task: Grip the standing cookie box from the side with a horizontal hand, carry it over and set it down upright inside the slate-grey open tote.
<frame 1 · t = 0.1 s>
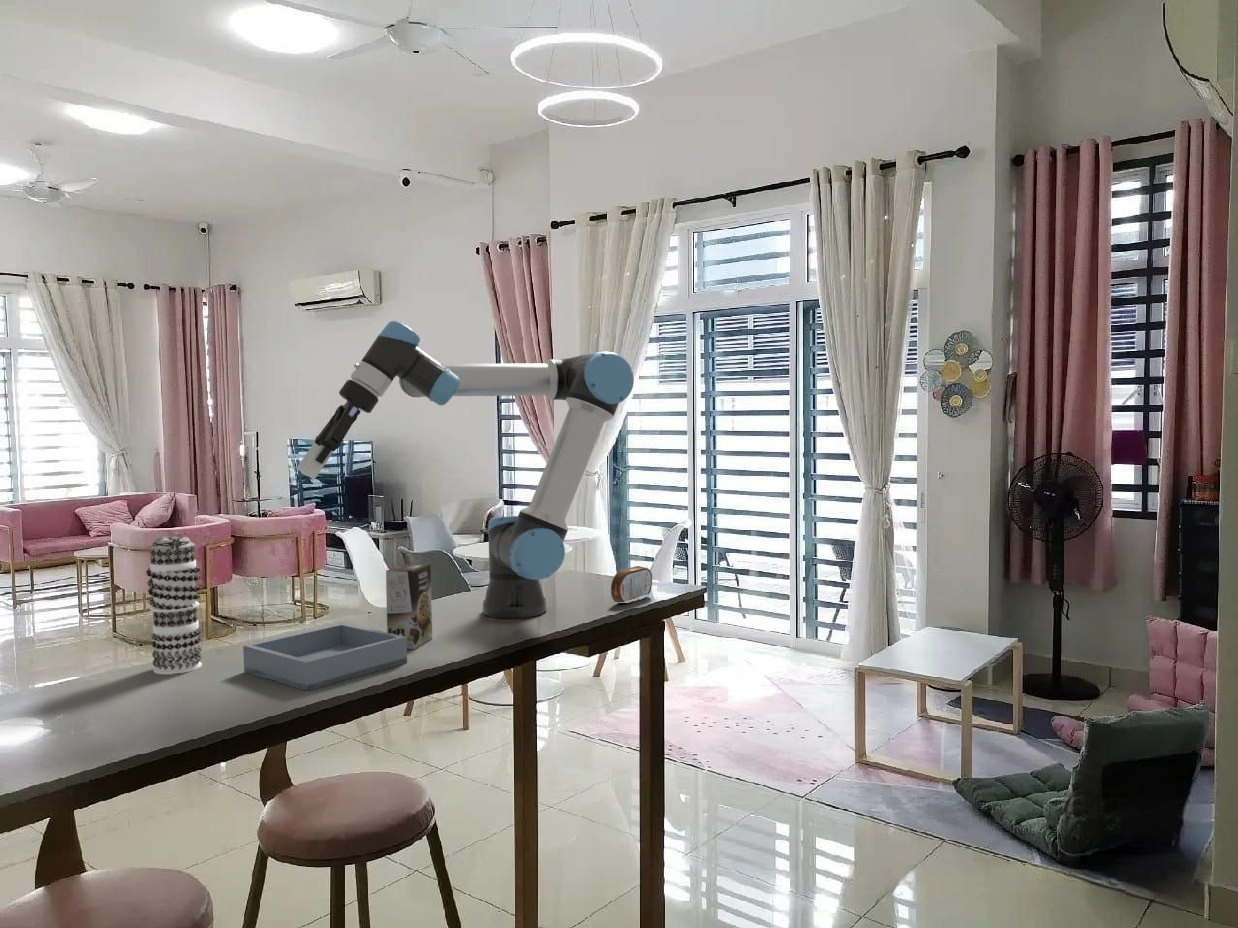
hand: (304, 474, 190), 36 cm above the table, tool tilted 35°, fingers open, 13 cm apart
tin: (632, 602, 234), on the table
decorative candle: (177, 669, 178), on the table
tote: (326, 667, 178), on the table
cookie box: (410, 644, 195), on the table
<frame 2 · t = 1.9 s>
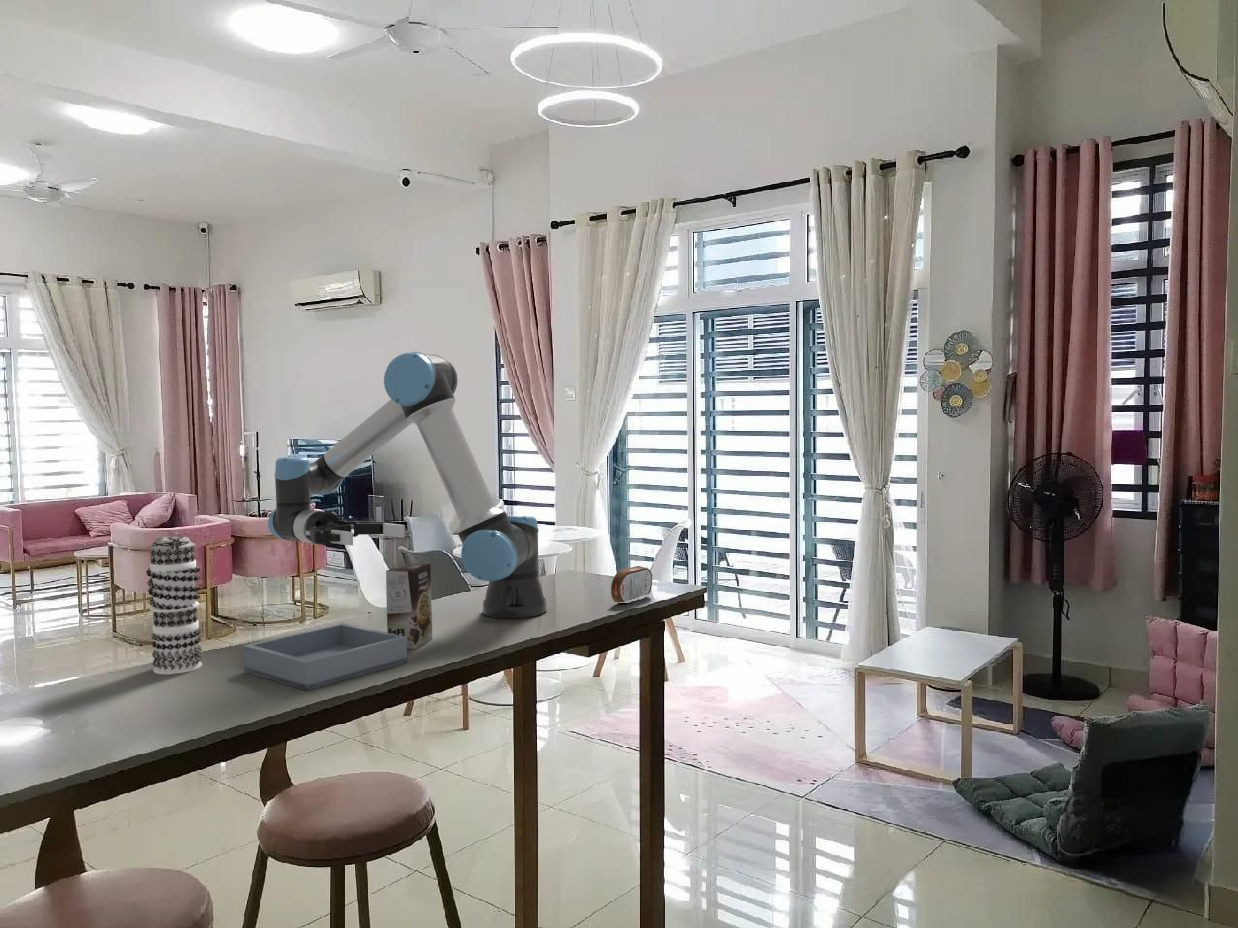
hand: (378, 535, 199), 22 cm above the table, tool horizontal, fingers open, 13 cm apart
nothing on the table moved.
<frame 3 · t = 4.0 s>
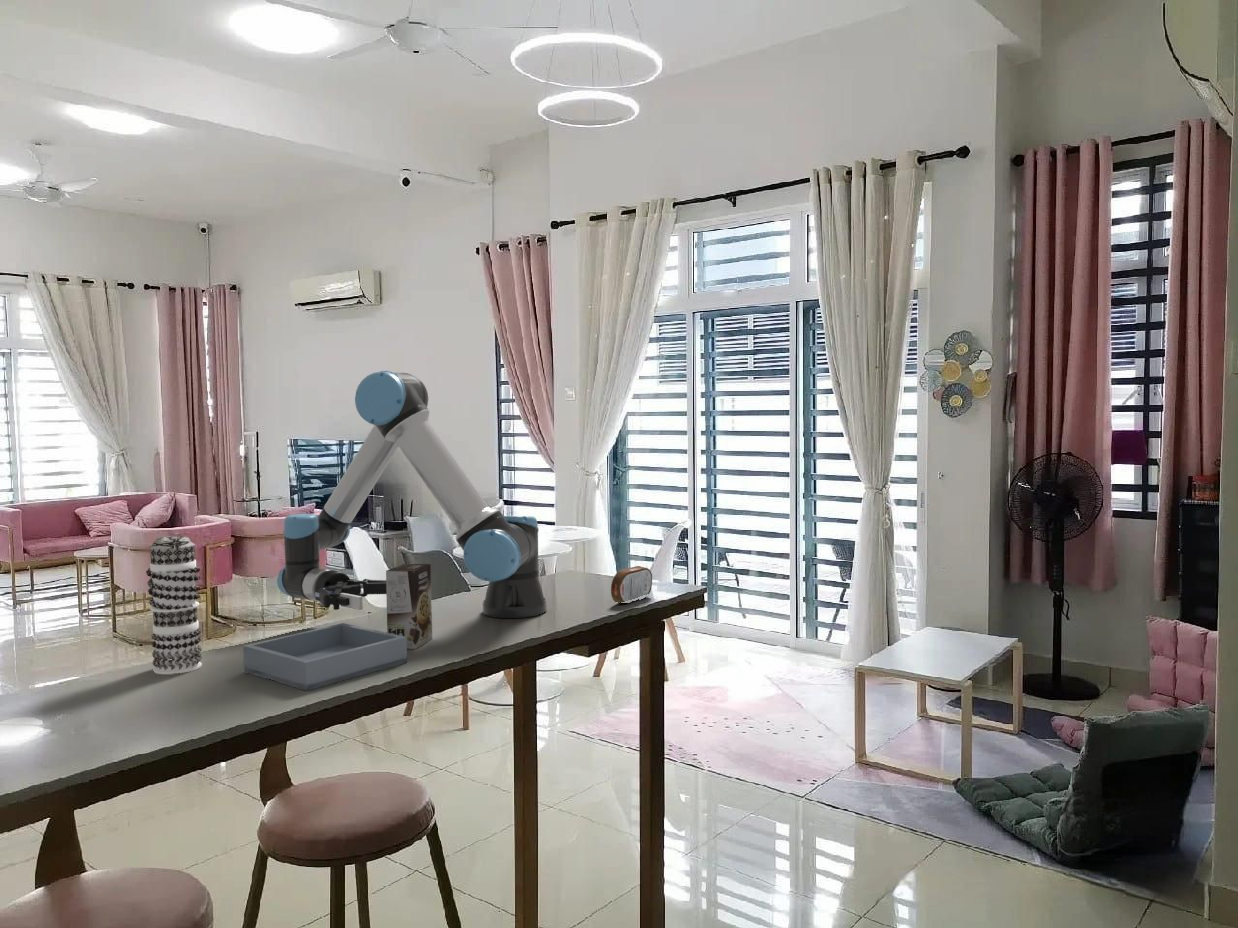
hand: (388, 597, 198), 9 cm above the table, tool horizontal, fingers open, 13 cm apart
nothing on the table moved.
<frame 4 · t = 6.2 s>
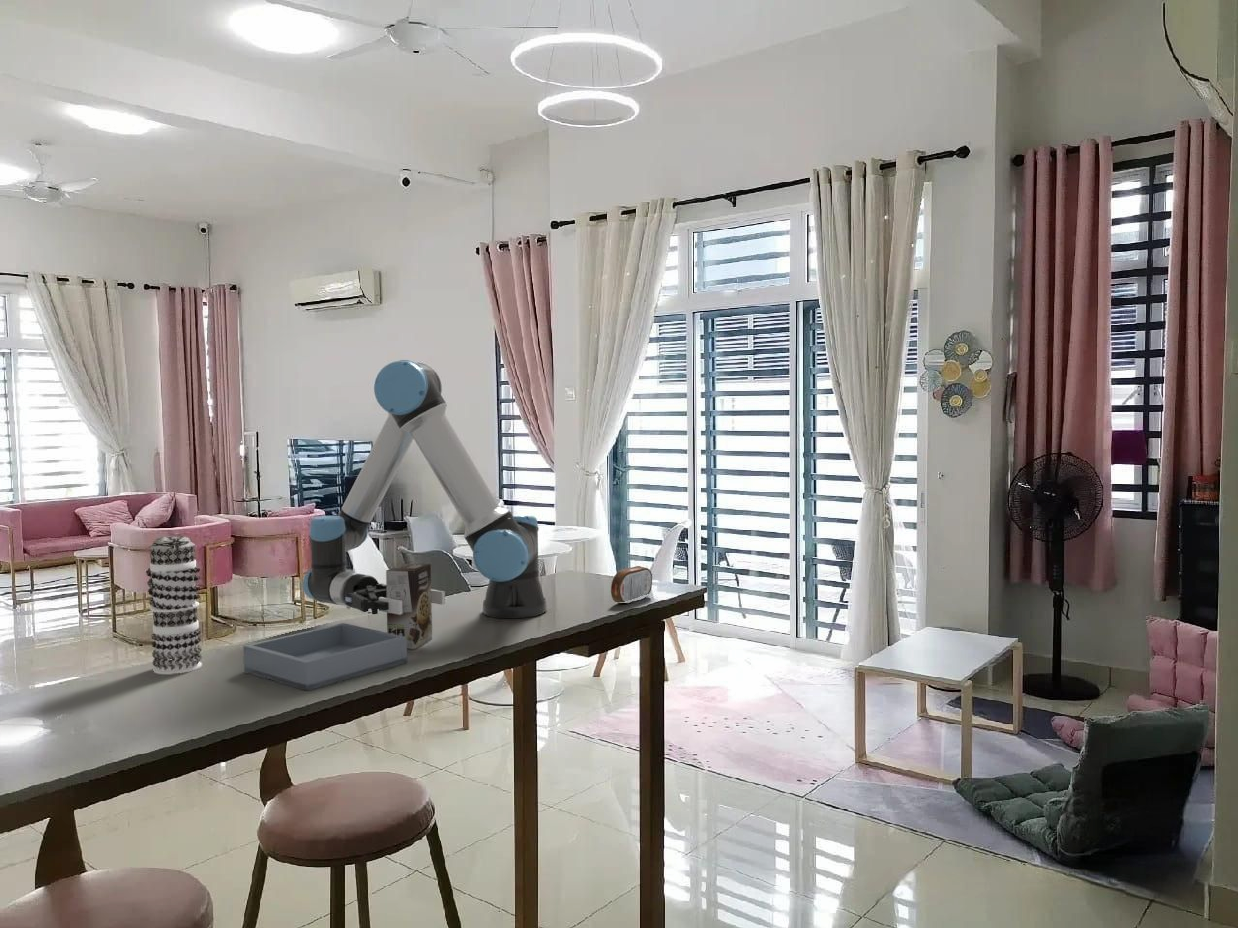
hand: (422, 602, 192), 9 cm above the table, tool horizontal, fingers closed on cookie box, 10 cm apart
cookie box: (410, 644, 195), on the table, touching gripper
everything else where it was.
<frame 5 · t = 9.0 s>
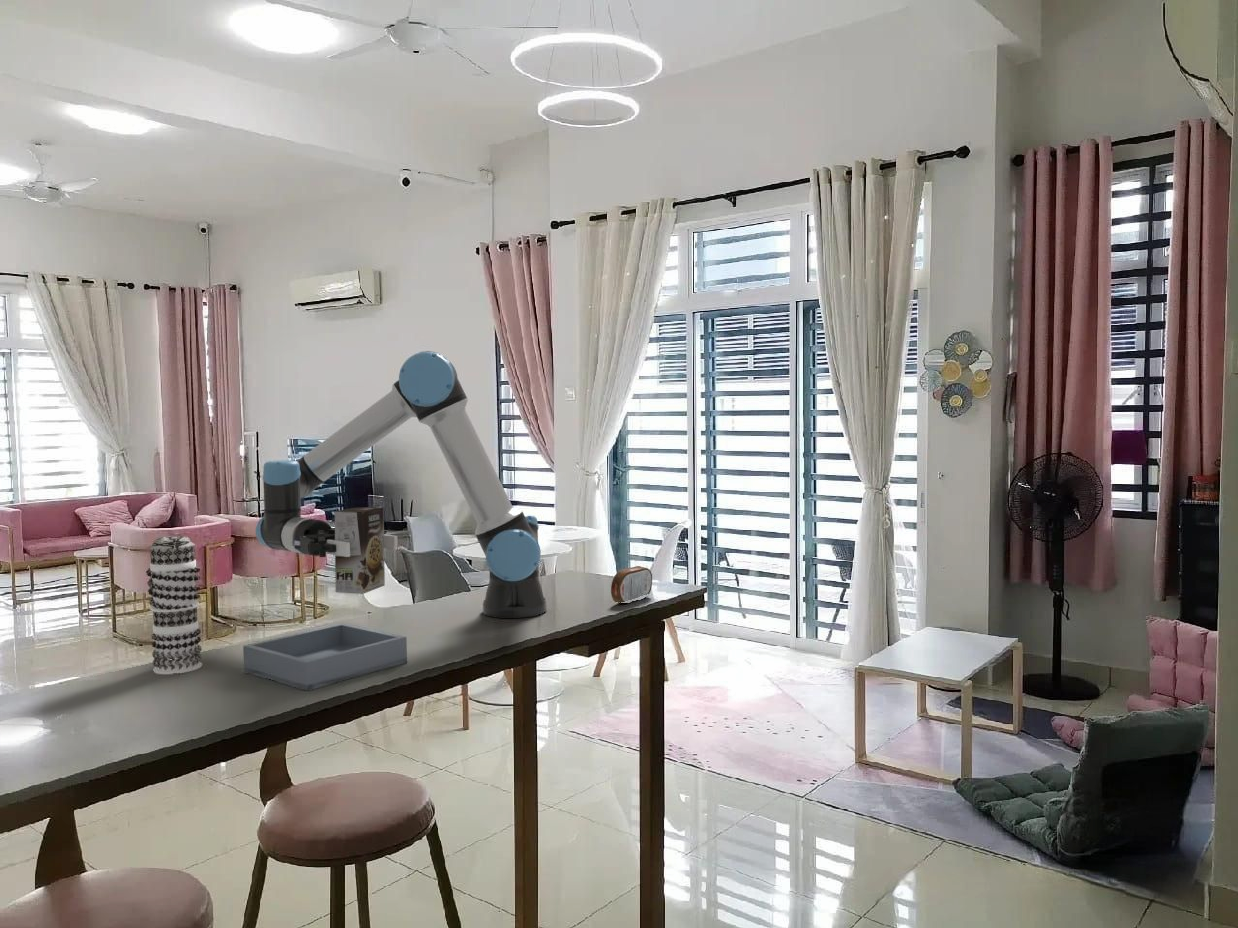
hand: (372, 546, 183), 22 cm above the table, tool horizontal, fingers closed on cookie box, 10 cm apart
cookie box: (360, 590, 187), point 13 cm above the table, touching gripper
everything else where it was.
when the fingers open (11 cm above the table, at t = 12.1 s): cookie box drops 1 cm, resting on tote.
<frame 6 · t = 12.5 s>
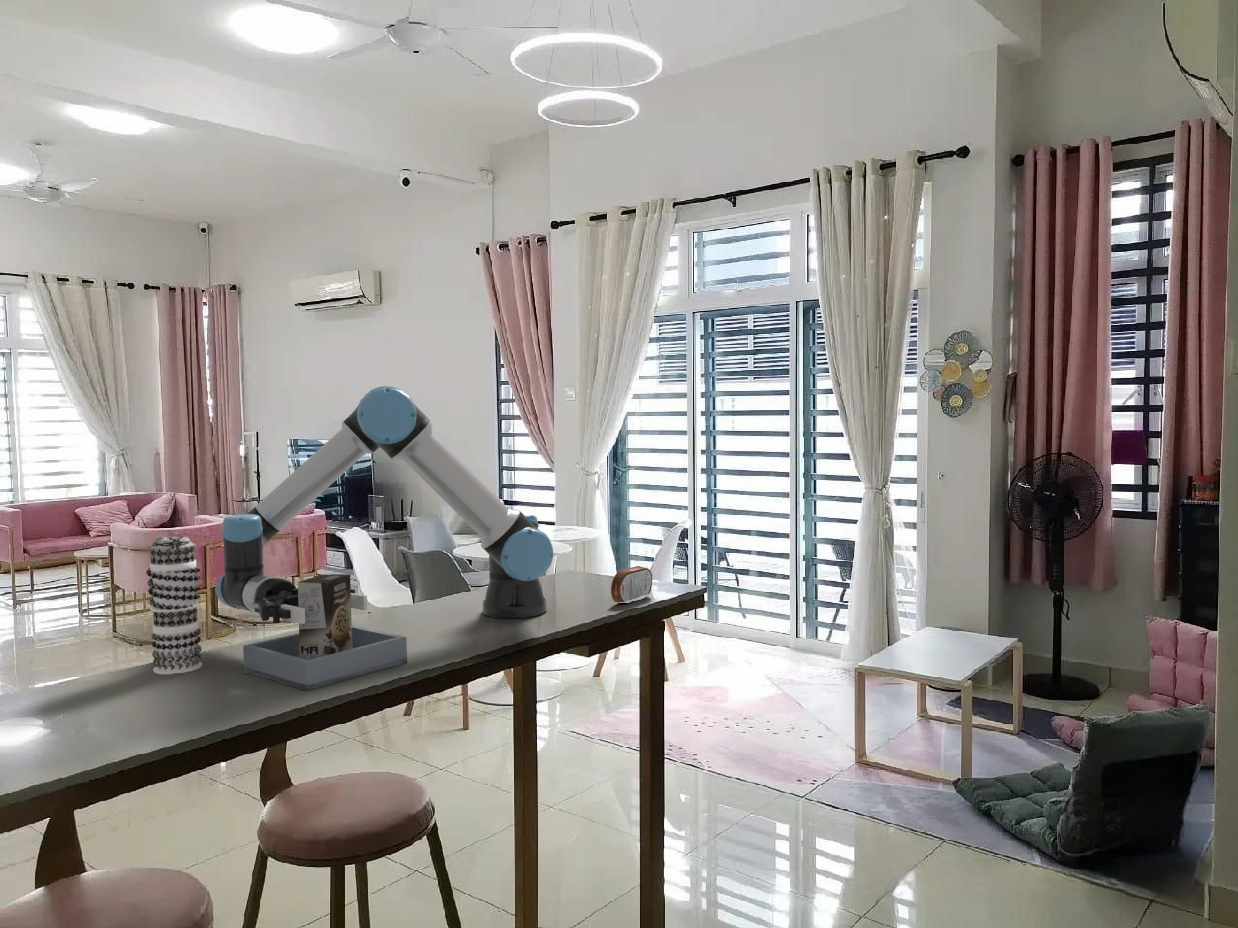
hand: (335, 609, 175), 11 cm above the table, tool horizontal, fingers open, 13 cm apart
cookie box: (327, 662, 178), point 1 cm above the table, touching tote
everything else where it was.
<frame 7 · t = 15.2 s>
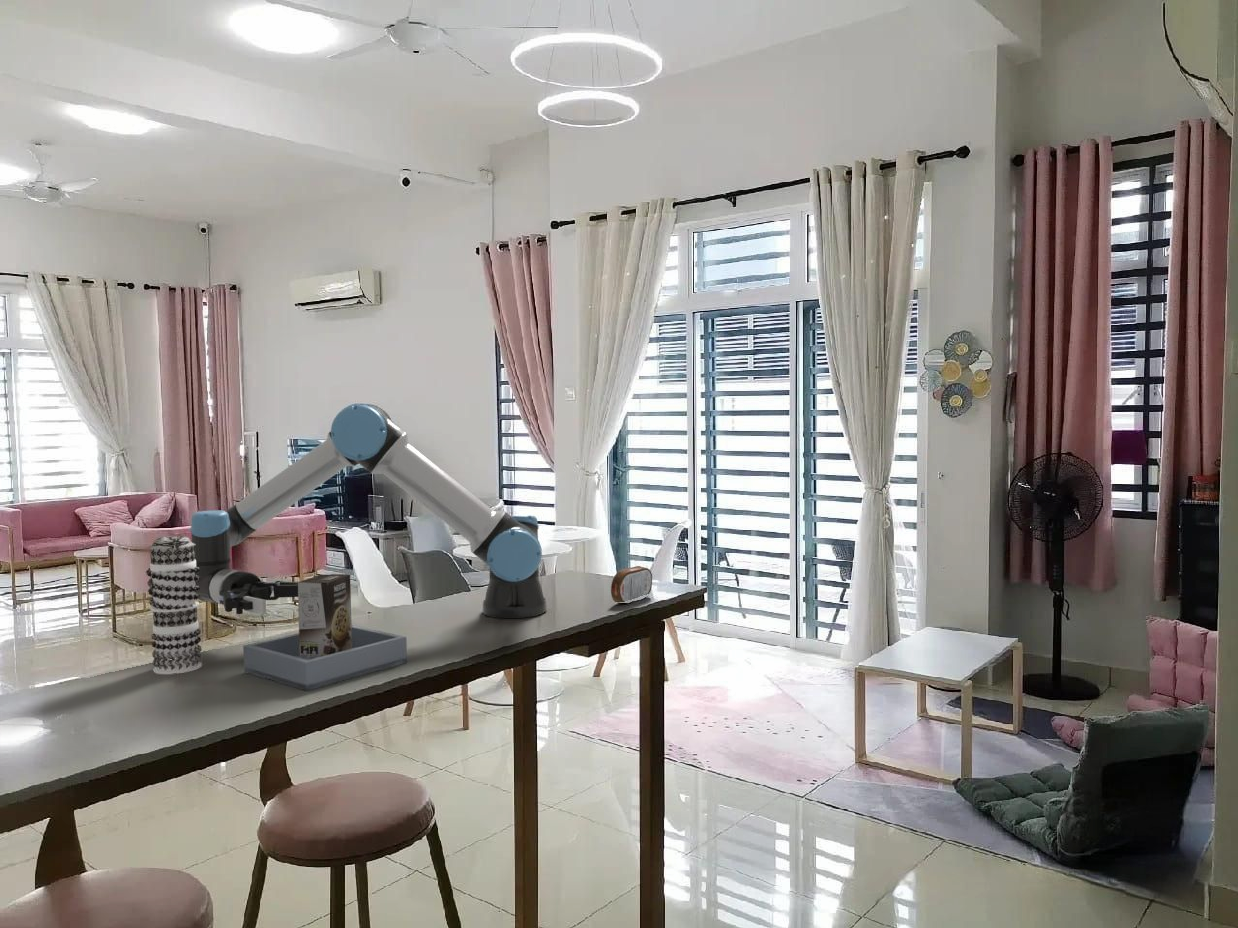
hand: (296, 601, 183), 12 cm above the table, tool horizontal, fingers open, 13 cm apart
nothing on the table moved.
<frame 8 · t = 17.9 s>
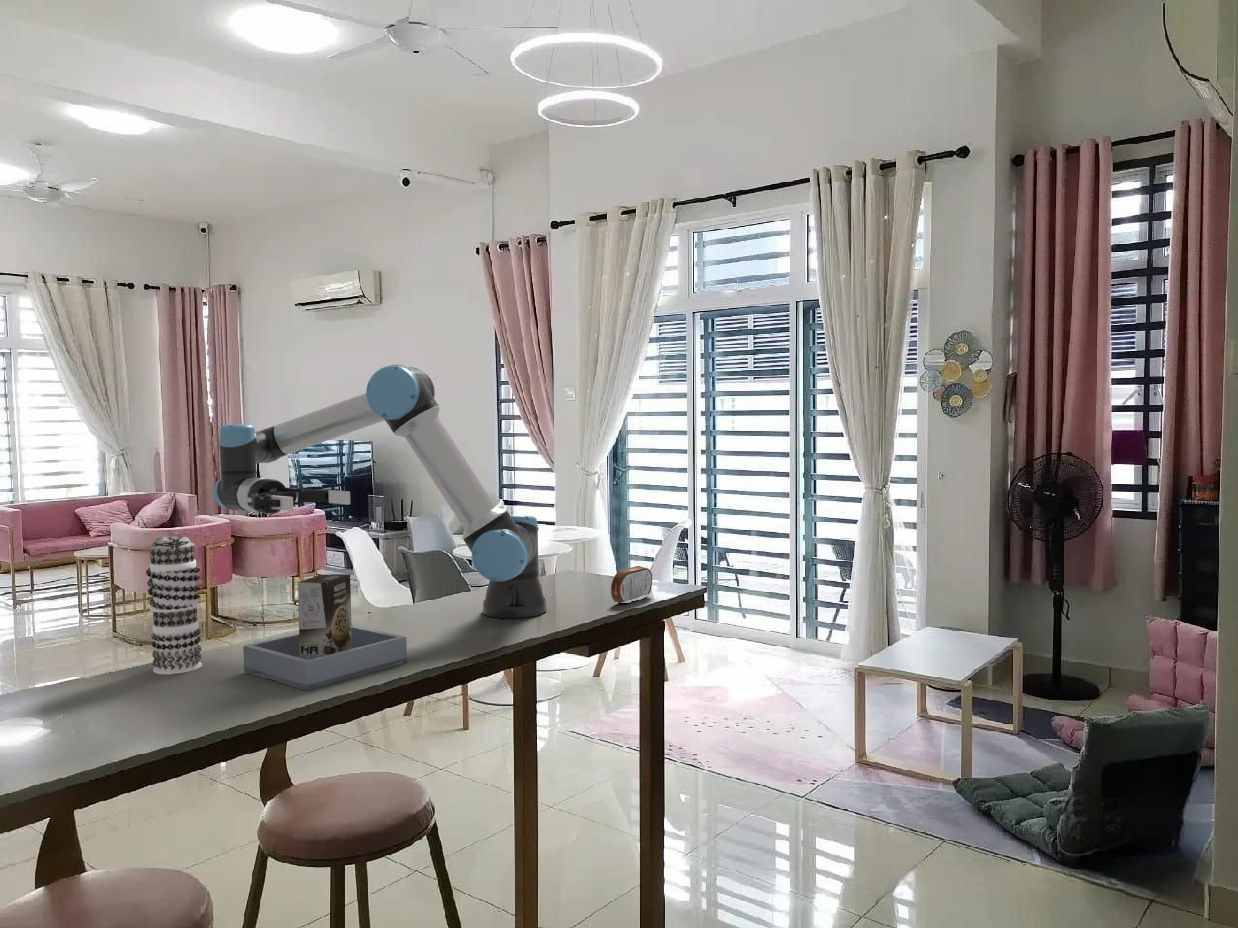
hand: (321, 500, 193), 30 cm above the table, tool horizontal, fingers open, 13 cm apart
nothing on the table moved.
at the end: cookie box inside the target area on the tote (0.2 cm from its centre), point 0.8 cm above the tote's base; cookie box tilted 0°; the gripper is holding nothing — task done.
